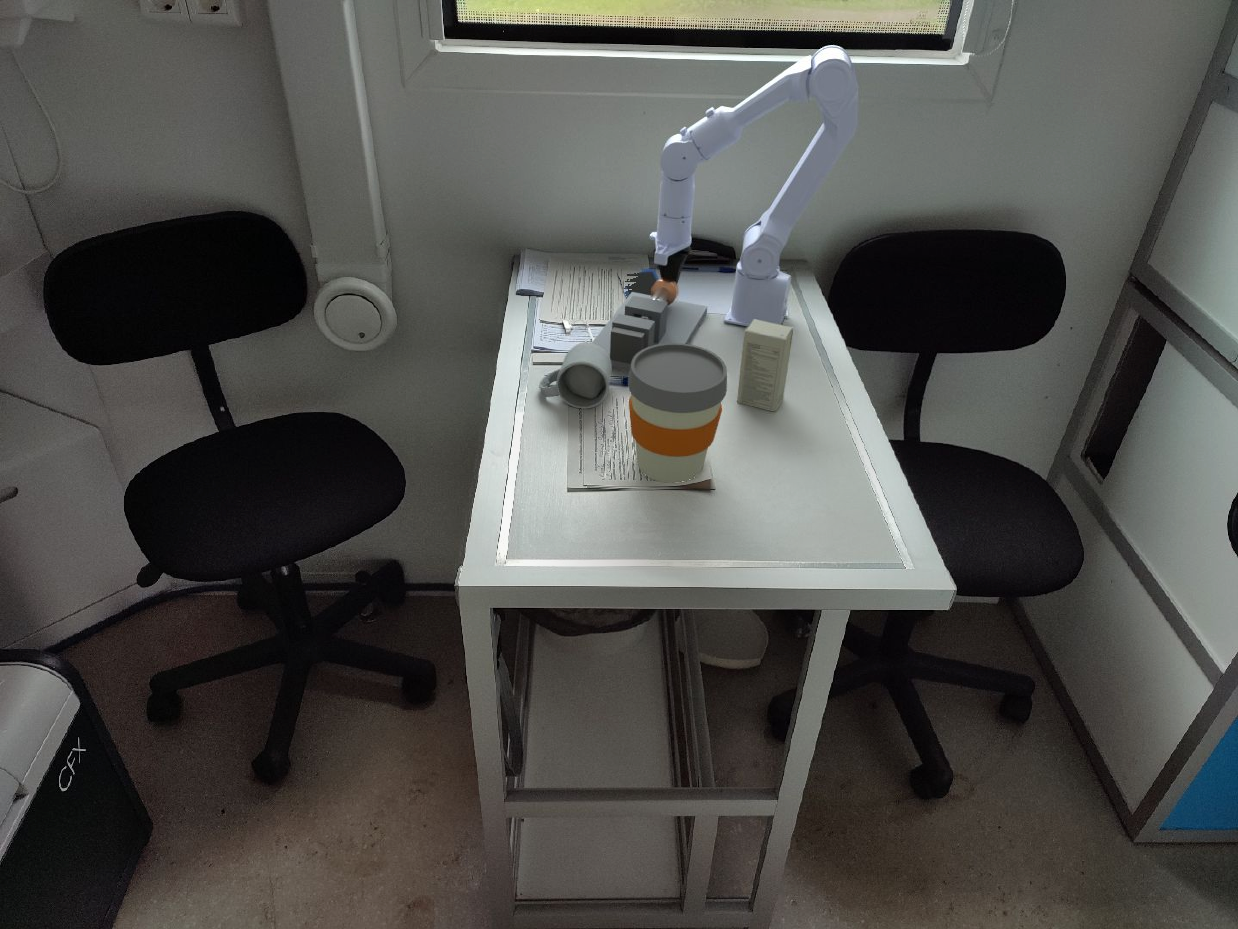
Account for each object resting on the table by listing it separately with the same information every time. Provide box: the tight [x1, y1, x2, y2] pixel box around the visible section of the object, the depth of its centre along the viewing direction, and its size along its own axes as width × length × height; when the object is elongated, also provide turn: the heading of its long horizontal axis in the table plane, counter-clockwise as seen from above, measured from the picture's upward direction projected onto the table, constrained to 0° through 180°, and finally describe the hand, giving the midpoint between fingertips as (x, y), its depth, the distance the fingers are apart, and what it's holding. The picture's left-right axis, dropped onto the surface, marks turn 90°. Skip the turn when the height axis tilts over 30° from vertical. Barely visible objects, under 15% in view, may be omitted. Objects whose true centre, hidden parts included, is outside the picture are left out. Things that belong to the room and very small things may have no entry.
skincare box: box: [736, 319, 794, 412], centre depth 126 cm, size 6×4×12 cm
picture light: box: [562, 316, 595, 343], centre depth 145 cm, size 14×4×2 cm, turn 13°
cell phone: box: [624, 268, 659, 298], centre depth 159 cm, size 7×14×1 cm, turn 9°
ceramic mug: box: [538, 341, 613, 410], centre depth 127 cm, size 11×8×8 cm
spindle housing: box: [591, 292, 708, 373], centre depth 141 cm, size 14×24×7 cm, turn 161°
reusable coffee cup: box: [627, 343, 728, 484], centre depth 111 cm, size 13×12×15 cm
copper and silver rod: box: [637, 277, 680, 320], centre depth 143 cm, size 4×12×4 cm, turn 161°
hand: (669, 287), depth 150 cm, fingers closed
